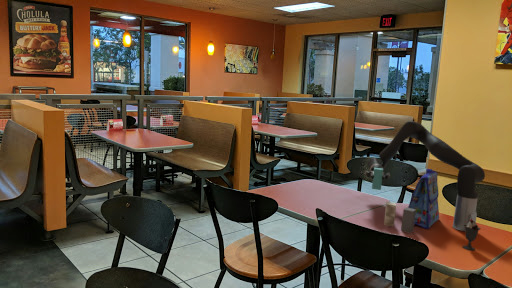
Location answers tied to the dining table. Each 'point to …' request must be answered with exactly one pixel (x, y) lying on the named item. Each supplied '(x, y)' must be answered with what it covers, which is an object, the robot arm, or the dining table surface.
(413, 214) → the charcoal block
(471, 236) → the sundae
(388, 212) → the tan block
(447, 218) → the dining table surface
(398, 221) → the dining table surface
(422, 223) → the lunch bag
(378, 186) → the teal block
